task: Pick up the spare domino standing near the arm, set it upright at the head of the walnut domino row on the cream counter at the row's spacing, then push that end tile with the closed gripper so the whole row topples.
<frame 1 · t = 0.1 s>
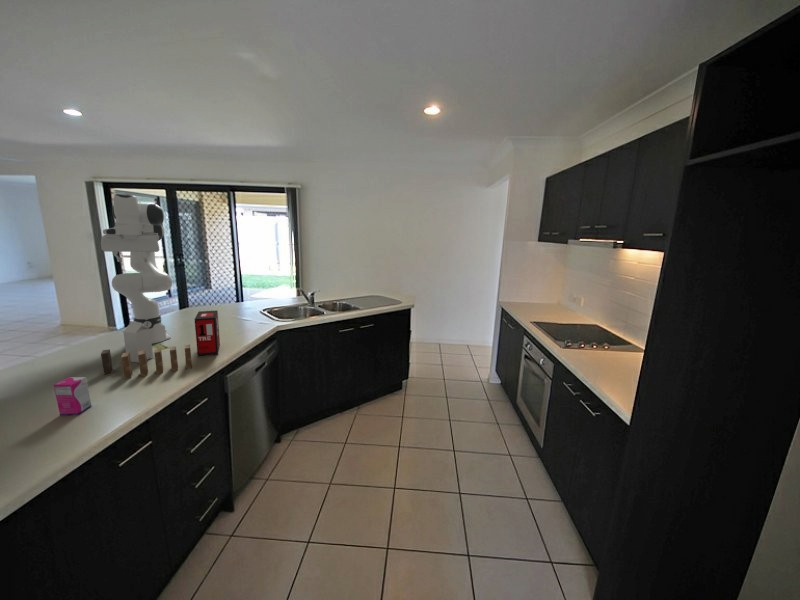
hand: (133, 261, 145), 48 cm above the counter, fingers open, 8 cm apart
tile 3: (144, 373, 139), on the counter
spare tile: (108, 372, 138), on the counter
tile 5: (174, 368, 145), on the counter
cleaning product box: (209, 350, 169), on the counter
tile 2: (128, 376, 136), on the counter
tile 4: (160, 371, 142), on the counter
supplement box: (75, 411, 110), on the counter
tile 6: (189, 366, 148), on the counter
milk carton: (140, 359, 154), on the counter
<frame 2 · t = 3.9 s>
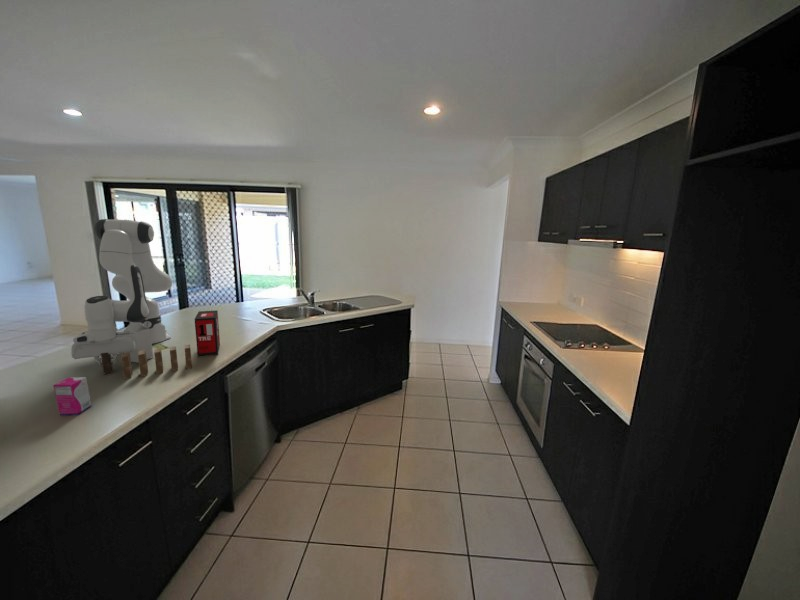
hand: (107, 364, 138), 4 cm above the counter, fingers closed on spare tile, 2 cm apart
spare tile: (108, 372, 138), on the counter, touching gripper
everything else where it was.
when the fingers open (5 cm above the counter, at t = 8.8 s): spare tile stays where it is, on the counter.
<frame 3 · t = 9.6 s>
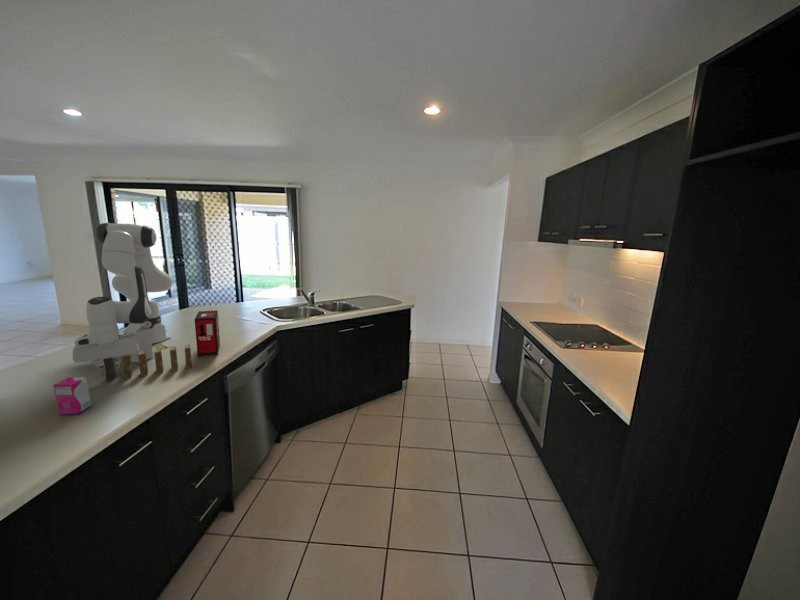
hand: (109, 367, 132), 5 cm above the counter, fingers open, 4 cm apart
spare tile: (111, 379, 133), on the counter
tile 2: (128, 376, 136), on the counter, touching gripper
everything else where it was.
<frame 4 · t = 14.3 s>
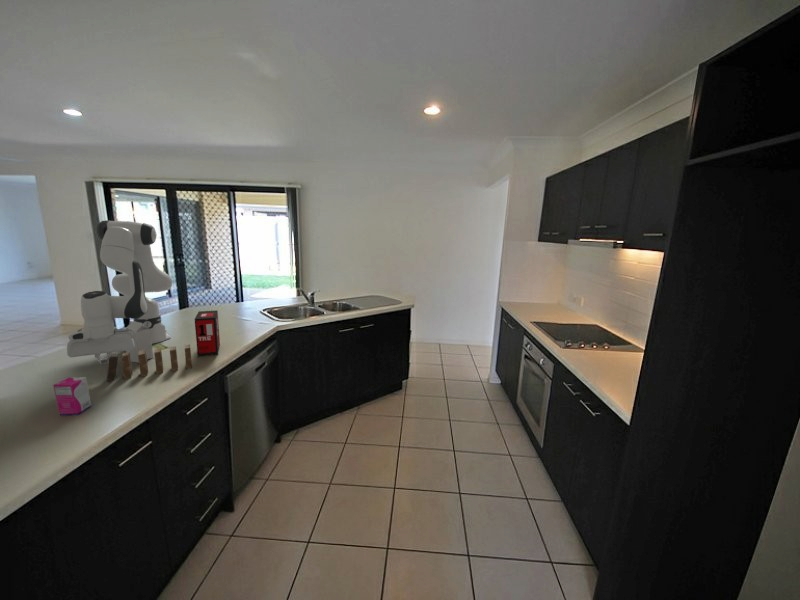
hand: (104, 362, 131), 8 cm above the counter, fingers closed
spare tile: (111, 378, 133), on the counter, tilted 11°
tile 2: (128, 376, 136), on the counter
everything else where it was.
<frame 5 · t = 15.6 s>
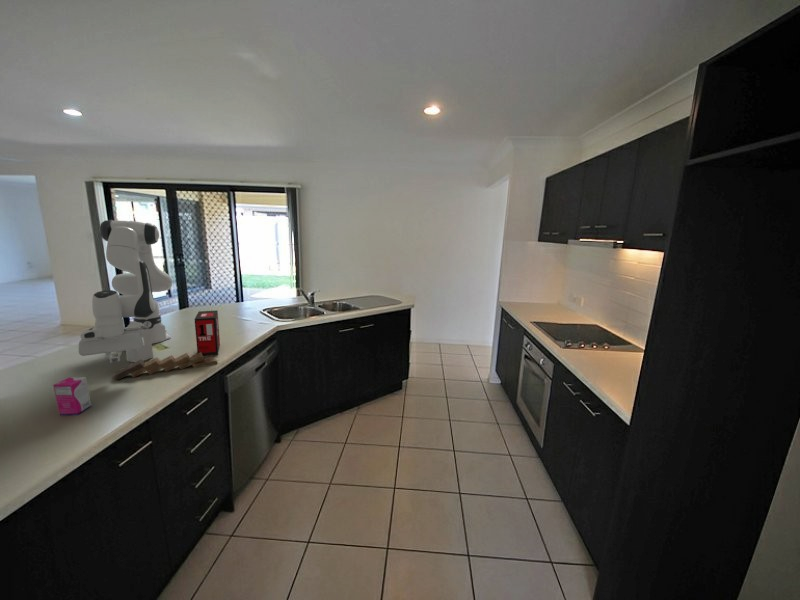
hand: (115, 361, 133), 8 cm above the counter, fingers closed
tile 3: (148, 370, 140), point 1 cm above the counter, tilted 67°, touching tile 2, tile 4
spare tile: (116, 376, 134), point 1 cm above the counter, tilted 66°, touching tile 2
tile 5: (179, 366, 146), point 1 cm above the counter, tilted 71°, touching tile 4, tile 6
tile 2: (132, 373, 137), point 1 cm above the counter, tilted 67°, touching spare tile, tile 3
tile 4: (164, 368, 143), point 1 cm above the counter, tilted 66°, touching tile 3, tile 5
tile 6: (192, 364, 149), point 1 cm above the counter, tilted 90°, touching tile 5
everything else where it was.
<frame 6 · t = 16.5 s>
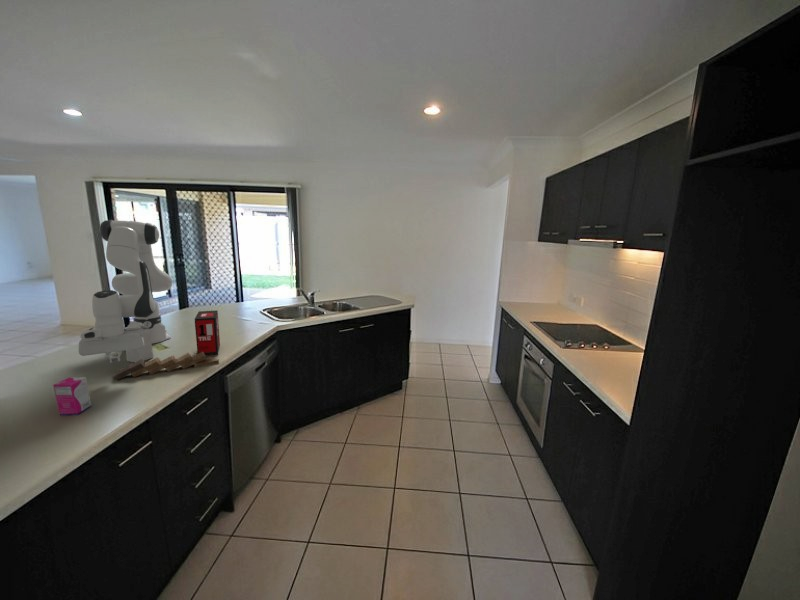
hand: (115, 361, 133), 8 cm above the counter, fingers closed
tile 3: (149, 370, 140), point 1 cm above the counter, tilted 68°, touching tile 4
tile 5: (181, 365, 147), point 1 cm above the counter, tilted 70°, touching tile 4, tile 6
tile 2: (133, 373, 137), point 1 cm above the counter, tilted 67°, touching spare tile
tile 4: (166, 368, 143), point 1 cm above the counter, tilted 67°, touching tile 3, tile 5
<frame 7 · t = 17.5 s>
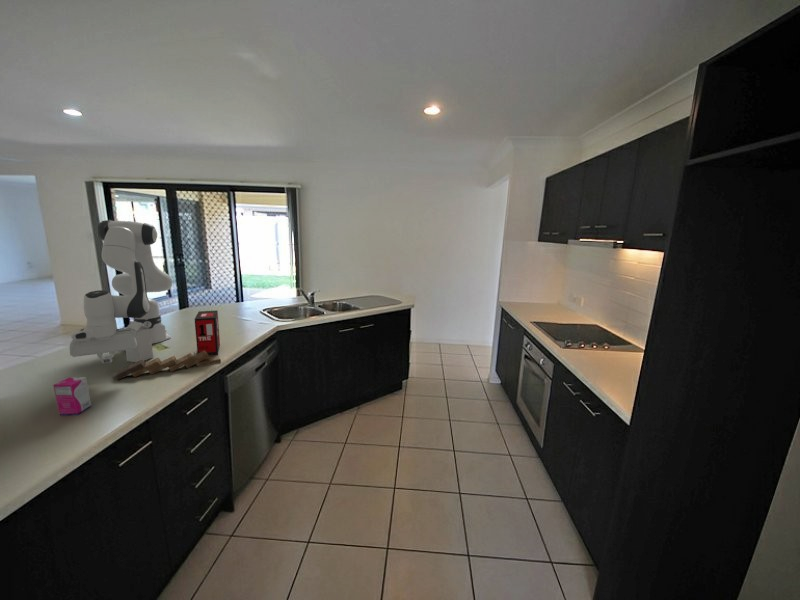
hand: (107, 362, 131), 8 cm above the counter, fingers closed
tile 3: (150, 370, 140), point 1 cm above the counter, tilted 69°, touching tile 2, tile 4
tile 5: (184, 365, 147), point 1 cm above the counter, tilted 69°, touching tile 4, tile 6
tile 2: (133, 373, 137), point 1 cm above the counter, tilted 67°, touching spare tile, tile 3
tile 4: (169, 368, 143), point 1 cm above the counter, tilted 67°, touching tile 3, tile 5
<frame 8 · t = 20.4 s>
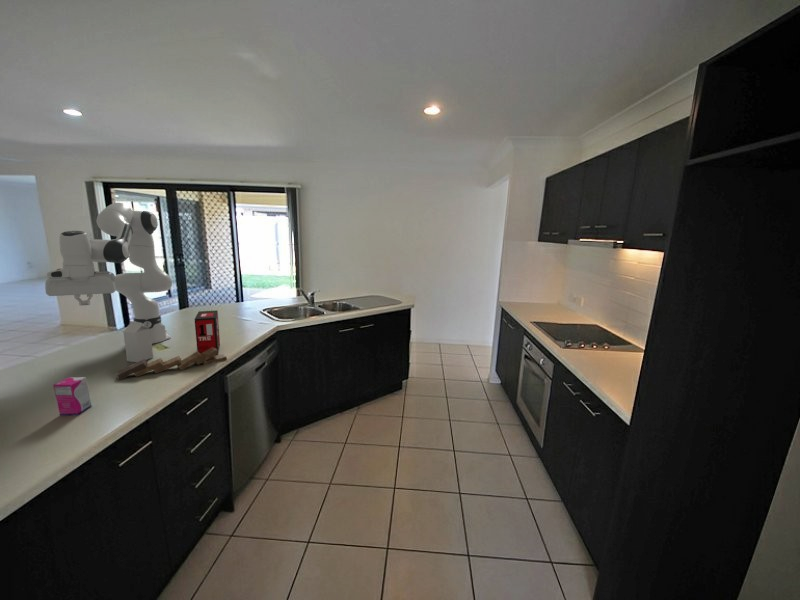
hand: (85, 305, 130), 31 cm above the counter, fingers closed
tile 3: (155, 369, 141), point 1 cm above the counter, tilted 73°, touching tile 4
tile 5: (195, 361, 150), point 2 cm above the counter, tilted 69°, touching tile 4, tile 6
tile 2: (135, 372, 137), point 1 cm above the counter, tilted 71°, touching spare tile
tile 4: (178, 367, 145), point 1 cm above the counter, tilted 67°, touching tile 3, tile 5
tile 6: (202, 362, 152), on the counter, tilted 90°, touching tile 5
everything else where it was.
at the end: tile 6 tilted 90°; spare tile tilted 67°; the gripper is holding nothing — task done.
